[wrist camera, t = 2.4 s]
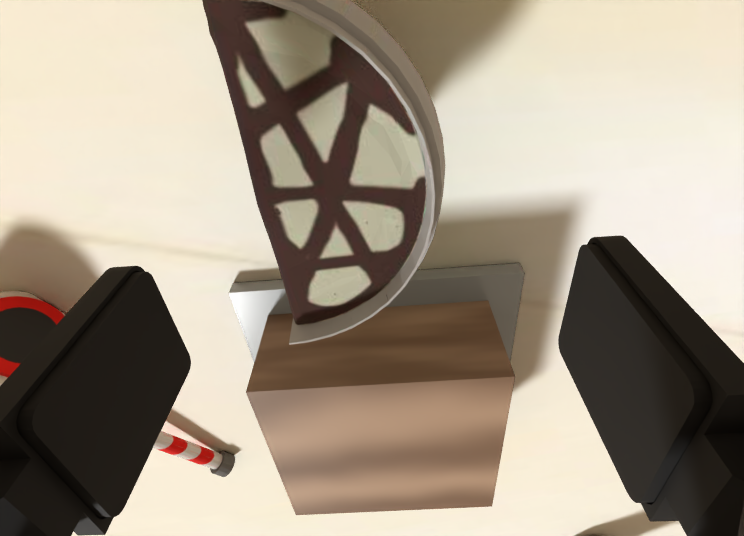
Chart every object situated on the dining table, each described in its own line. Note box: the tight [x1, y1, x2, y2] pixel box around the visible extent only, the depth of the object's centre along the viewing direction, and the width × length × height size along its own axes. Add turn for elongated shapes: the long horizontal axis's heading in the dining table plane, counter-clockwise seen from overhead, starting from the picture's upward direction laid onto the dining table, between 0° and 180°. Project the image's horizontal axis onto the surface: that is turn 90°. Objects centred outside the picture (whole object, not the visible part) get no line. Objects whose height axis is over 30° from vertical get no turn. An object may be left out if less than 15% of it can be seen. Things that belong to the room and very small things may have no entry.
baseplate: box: [229, 263, 525, 363], centre depth 31 cm, size 18×18×1 cm
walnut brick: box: [246, 300, 515, 515], centre depth 28 cm, size 14×14×6 cm
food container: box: [202, 0, 445, 345], centre depth 16 cm, size 12×6×10 cm, turn 6°
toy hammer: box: [0, 291, 235, 477], centre depth 31 cm, size 23×12×6 cm, turn 40°
